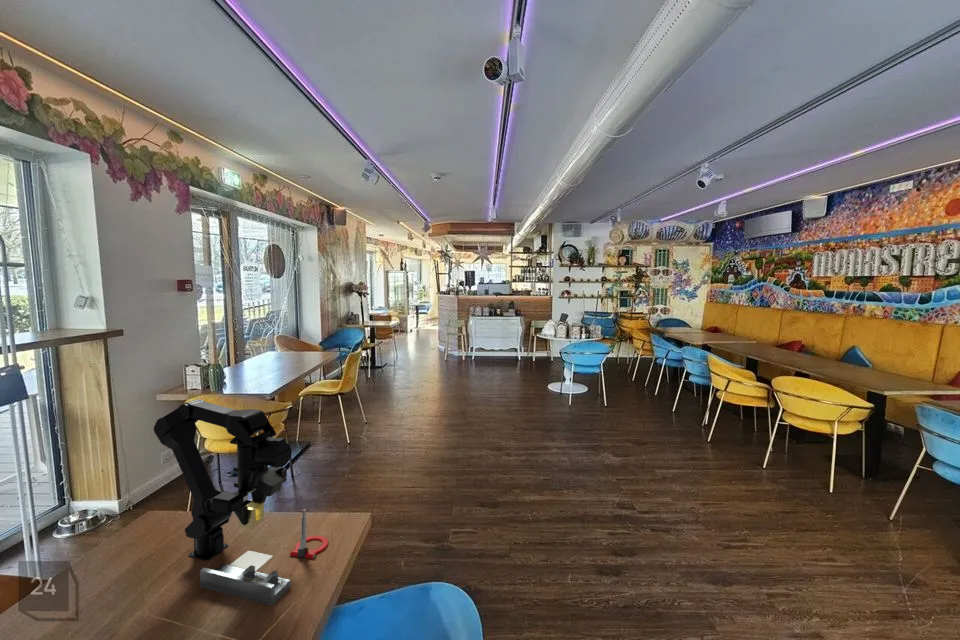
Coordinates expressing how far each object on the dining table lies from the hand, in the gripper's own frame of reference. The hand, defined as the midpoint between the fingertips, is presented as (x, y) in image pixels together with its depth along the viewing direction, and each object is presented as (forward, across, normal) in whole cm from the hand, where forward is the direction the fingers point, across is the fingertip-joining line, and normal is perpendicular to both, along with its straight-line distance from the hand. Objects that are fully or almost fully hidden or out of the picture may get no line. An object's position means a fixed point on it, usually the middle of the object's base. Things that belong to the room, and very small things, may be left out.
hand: (251, 519), depth 103 cm
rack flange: (+12, -8, -6) cm, 15 cm away
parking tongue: (+12, 0, 0) cm, 12 cm away
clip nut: (+1, 0, 0) cm, 1 cm away
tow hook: (+12, +9, -11) cm, 18 cm away
